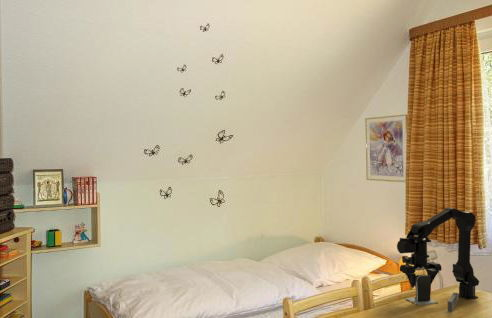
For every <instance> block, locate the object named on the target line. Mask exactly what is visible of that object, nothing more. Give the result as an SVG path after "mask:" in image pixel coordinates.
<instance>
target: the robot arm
mask: <svg viewBox="0 0 492 318" xmlns="http://www.w3.org/2000/svg"><path fill="white" fill-rule="evenodd" d="M450 219H453V220H455V225H456V227H457V229H458V250H457V262H456V263H453V264H452V271H451V272H452V273H453V276H454V278H455V280H456V282H457V283H458V284H459V287H458V297H460V298H464V299H466V300H472V299H473V300H474V299H478V298H479V296H477V295H476V286H479V284H480V280H479V279H478V278H477V277H476V276H475V272H474V268H473V266H472V264H471V240H472V239H471V236H472V233H471V232H472V230H473V229H474V227H475V224H476V215H475V214H474V213H473V212H470V211H462V210H458V209H456V208H453V207H446V208H444V209H443V210H442V211H440V212H438V213H437V214H436V215H434V216H431V217H430V218H428V219H426V220H424V221H419V222H416V223H413V224H412V225H411V227H410V230H409V231H408V233H407V235H406V236H405V237H400V238H399V240H398V242H397V244H396V249H397V252H399V254H411V255H410V256H408V255H402V256H401V261H402V263H403V264H401V265H400V266H399V271H400V272H402V274H405V276H406V277H407V279H408V282H409V285H410V287H411V288H412V289H414V288H415V286H414V285H415V277H416V275H417V273H416V271H421V270H422V271H423V270H425V272H426V275H428V276H430V278H431V285H432V284H433V281H434V280H435V278H436V277H437V275H438V274H440V271H442V270H443V269H442V265H441V264H440V263H437V262H434V261H430V262H428V258H430V255H429V254H428V243H432V240H431V239H429V236H430V235H431V234H432V233H433V231H434V229H436V228H437V227H439V226H441V225H442V224H444V223H446V222H447V221H449V220H450Z"/></svg>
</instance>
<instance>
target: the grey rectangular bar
mask: <svg viewBox="0 0 492 318" xmlns="http://www.w3.org/2000/svg"><path fill="white" fill-rule="evenodd" d="M458 294H459V292H452V294H451V296H450V297H449V298H448V300H447V312H453V311H454V309H455V308H456V306H457V304H459V296H458Z"/></svg>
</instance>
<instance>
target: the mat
mask: <svg viewBox="0 0 492 318" xmlns="http://www.w3.org/2000/svg"><path fill="white" fill-rule="evenodd" d="M415 297H416V296H415ZM415 297H413V296H412V297H406V298H404V299H405V301H407V300H409V301H411V302H410V303H412V302H413V303H412V304H414V303H416V304H418V305H417V306H419V305H421V306H427V304H428V305H434V304H433V303H436V304H438V301H436V300H433V299H431V300H429V301H417V300H415ZM409 301H408V302H409ZM416 304H415V305H416Z"/></svg>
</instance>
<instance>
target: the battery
mask: <svg viewBox="0 0 492 318" xmlns="http://www.w3.org/2000/svg"><path fill="white" fill-rule="evenodd" d="M414 288H415V300H417V301H429V300H432V299H431V290H432V284H431V278H430V276H428V275H427V274H416V277H415V285H414Z"/></svg>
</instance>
